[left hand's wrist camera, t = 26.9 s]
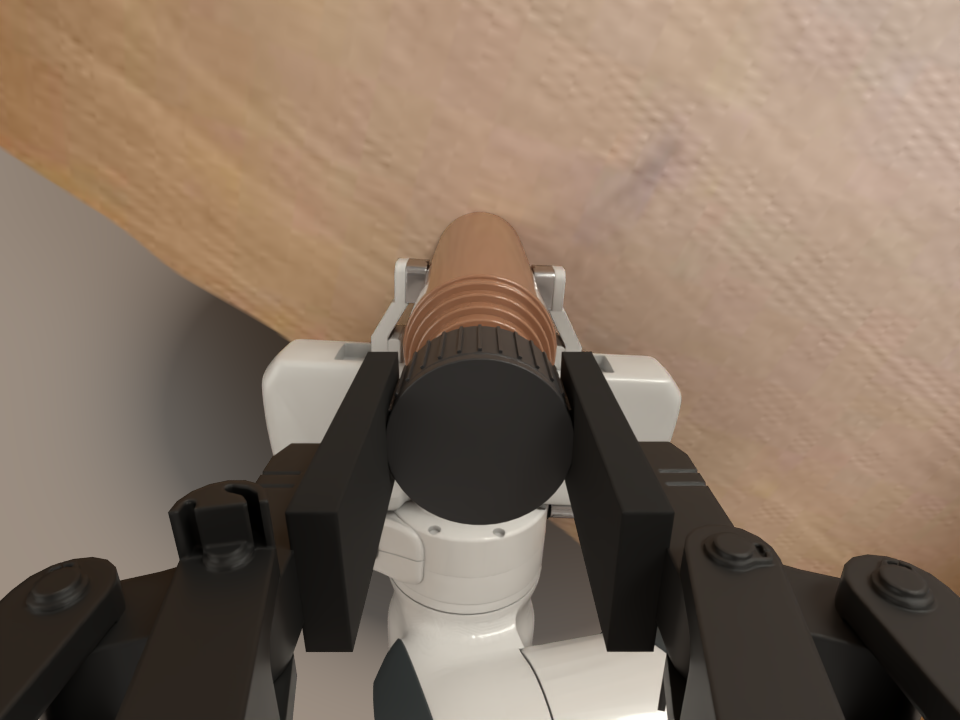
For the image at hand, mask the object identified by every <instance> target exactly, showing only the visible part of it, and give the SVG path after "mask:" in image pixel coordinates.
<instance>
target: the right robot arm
mask: <svg viewBox="0 0 960 720" xmlns="http://www.w3.org/2000/svg"><path fill="white" fill-rule="evenodd" d="M429 266H430V261H429V260H425V259H410V258H398V260H397V261H396V264H395V297H394V299H393V300H392V302H391V304H390V305H389V307H388V309H387V310H386V312H385V314H384V315H383V317H382V319H381V320H380V322H379V324H378V325H377V327H376V329H375V331H374V333H373V334H372V336H371V342H350V341H330V340H310V339H297V340H294V341H292V342H290V343H289V344H288V345H287V346H286V347H285V348H284V349H283V350H282V351H281V352H280V353H279V354H277V356H276V357H275V358H274V359H273V360H272V362H271V363H270V364H269V366H268V367H267V369H266V371H265V373H264V375H263V379H262V394H263V404H264V411H265V418H266V424H267V429H268V434H269V439H270V443H271V448H272V452H273V456H274V455H275V454H277V453H278V452H280V451H281V450H282V449H284V448H285V447H287V446H288V445H289V444H291V443H321V441H322V439H323V438H324V436H325V434H326V432H327V430H328V428H329V426H330V424H331V422H332V420H333V418H334V416H335V414H336V412H337V411H338V409H339V407H340V405H341V403H342V401H343V399H344V397H345V395H346V393H347V391H348V389H349V387H350V386H351V384H352V382H353V380H354V378H355V376H356V374H357V372H358V370H359V368H360V366H361V364H362V362H363V360H364V359H365V357H366V355H367V353H368V352H398V360H399V378H400V377H401V374H402V371H403V368H404V366H405V361H404V355H403V338H404V332H405V328H406V327H405V326H404V325H396V323H397V322H398V320H399V319H400V317H401V315H402V314H403V312H404V310H405V309H406V307H407V305H408V304H409V303H415V301H416V299H417V296H418V294H419V291H420V289H421V286H422V284H423V281H424V278H425V276H426V273H427V271H428V268H429ZM531 269H532V272H533V274H534V277H535V280H536V282H537V285H538V287H539V290H540V292H541V295H542V297H543V300H544V302H545V305H546V308H547V310H548V311H549V313H550V315H551V317H552V319H553V321H554V324H555V326H556V328H557V330H558V332H559V334H558V333H556V341H557V352H556V359H555V366H556V368H557V371H558V374H559V378H560V371H561V354H562V352H582V347H581V344H580V342H579V340H578V338H577V336H576V334H575V331H574V329H573V327H572V325H571V323H570V321H569V319H568V316H567V314H566V312H565V310H564V308H563V301H564V291H565V282H566V274H565V270H564V268H563V267H562V266H547V265H532V266H531ZM395 325H396V326H395ZM593 355H594V357H595V359H596V361H597V363H598V365H599V367H600V369H601V371H602V373H603V375H604V377H605V379H606V380H607V382H608V384H609V386H610V388H611V390H612V392H613V394H614V396H615V398H616V400H617V402H618V404H619V406H620V407H621V409H622V411H623V413H624V415H625V417H626V419H627V421H628V423H629V425H630V427H631V429H632V431H633V433H634V434H635V436H636V438H637V440H638V441H669V442H670V441H671V438H672V435H673V432H674V429H675V426H676V422H677V418H678V415H679V411H680V406H681V393H680V390H679V388H678V386H677V384H676V383H675V381H674V380H673V378H672V376H671V375H670V374H669V373H668V371H667V370H666V369H665V368H664V367H663V366H662V365H661V364H660V363H659V362H658V361H657V360H656V359H655V358H653V357H650V356H639V355H618V354H597V353H593ZM548 517H555V518H574V516H573V512H572V508H571V504H570V500H569V496H568V492H567V488H566V484H565V480H564V481H563V483H562V485H561V486H560V487H559V489H558V490H557V491H556V492H555V493H554V495H553V496H552V497H551V498H550V499H549V500H548V501H546V502H545V503H544V504H542V505H541V506H540V507H539V508H537V509H535V510H534V511H532V512H530V513H529V514H526V515H524V516H522V517H520V518H517V519H514V520H511V521H508V522H504V523H499V524H491V525H468V524H461V523H456V522H452V521H448V520H446V519H443V518H440V517H438V516H436V515H433V514H431V513H429V512H428V511H426V510H425V509H423V508H421V507H420V506H418V505H417V504H416V503H415V502H414V501H412V500H411V499H410V498H409V497H408V496H407V495H406V494H405V493H404V491H403V490H402V489H401V488H400V486H399V485H398V483H397V482H396V480H395V482H394V486H393V490H392V494H391V498H390V502H389V507H388V511H387V515H386V519H385V523H384V527H383V531H382V535H381V539H380V543H379V547H378V551H377V555H376V559H375V563H374V567H373V570H375V571H378V572H380V573H382V574H385V575H387V576H389V578H390V581H391V583H392V586H393V588H394V593H393V596H392V599H391V601H390V605H389V611H388V648H389V651H388V653H387V655H386V657H385V659H384V661H383V663H382V665H381V667H380V669H379V671H378V674H377V676H376V678H375V680H374V685H373V704H374V718H375V720H668V718H667V708H665V712H664V711H659V710H658V703H659V696H660V690H661V684H662V678H663V672H664V666H665V660H666V653H667V650H666V647H665V645H664V642H663V639H662V636H661V634H660V631H659V628H658V626H657V633H656V639H655V646H654V652H607V650H606V646H605V642H604V638H603V634H602V632H601V633H600V634H596V635H590V636H585V637H579V638H574V639H568V640H563V641H557V642H552V643H546V644H541V645H535V646H532V642H533V635H534V619H535V617H534V609H533V604H532V600H531V596H532V594H533V592H534V591H535V589H536V586H537V584H538V581H539V578H540V573H541V566H542V557H543V548H544V540H545V532H546V520H547V519H548Z"/></svg>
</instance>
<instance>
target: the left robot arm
mask: <svg viewBox="0 0 960 720" xmlns="http://www.w3.org/2000/svg"><path fill="white" fill-rule="evenodd" d="M398 380H400V378H399V360H398V352H368V353H367V355H366V357H365V359H364V360H363V362H362V364H361V366H360V368H359V370H358V372H357V374H356V376H355V378H354V380H353V382H352V384H351V386H350V387H349V389H348V391H347V393H346V395H345V397H344V399H343V401H342V403H341V405H340V407H339V409H338V411H337V412H336V414H335V416H334V418H333V420H332V422H331V424H330V426H329V428H328V430H327V432H326V434H325V436H324V438H323V439H322V441H321V443H291V444H289V445H288V446H287V447H285V448H284V449H282V450H281V451H280V452H278V453H277V454H275V455H274V456H273V457H272V458H271V460H270V461H269V463H268V464H267V466H266V467H265V469H264V471H263V475H260V477H259V478H258V480H257V481H256V483H253V482H250V481H246V480H228V481H223V482H218V483H213V484H209V485H206V486H204V487H202V488H199V489H197V490H194V491H192V492H190V493H189V494H187V495H186V496H184V497H183V498H181V499H180V500H178V501H177V502H176V503H175V504H174V506H173V507H172V508H171V509H170V511H169V512H168V514H169V518H170V522H171V526H172V530H173V534H174V538H175V542H176V547H177V551H178V555H179V559H180V561H179V563H178V565H177V567H175V568H172V569H168V570H165V571H161V572H157V573H153V574H148V575H143V576H139V577H135V578H130V579H125V580H121V581H120V580H119V576H118V573H117V569H116V567H115V566H114V565H113V564H112V563H111V562H109V561H108V560H106V559H101V558H95V557H88V558H79V559H72V560H69V561H65V562H62V563H58V564H55V565H52V566H50V567H48V568H46V569H44V570H42V571H40V572H38V573H36V574H34V575H32V576H30V577H29V578H27V579H26V580H25V581H23V582H22V583H21V584H19V585H18V586H17V587H15V588H14V589H13V590H11V591H10V592H9V593H8V594H7V595H6V596H5V597H4V598H3V599H2V600H1V601H0V720H38V719H39V720H292V719H293V710H294V700H295V689H296V680H297V673H296V666H295V660H294V654H293V652H294V649H295V646H296V644H297V641H298V638H299V635H300V633H301V630H302V629H303V635H304V642H305V648H306V652H353V649H354V645H355V640H356V637H357V632H358V628H359V624H360V620H361V616H362V612H363V608H364V604H365V600H366V596H367V592H368V588H369V584H370V580H371V576H372V572H373V567H374V563H375V559H376V555H377V551H378V547H379V543H380V539H381V535H382V531H383V527H384V523H385V519H386V515H387V511H388V507H389V502H390V498H391V494H392V490H393V486H394V482H395V478H394V476H393V474H392V473H391V470H390V467H389V465H388V456H387V441H386V426H387V422H388V418H389V415H390V413H388V409H389V406H390V403H391V400H392V397H393V394H394V391H395V388H396V385H397V382H398ZM560 380H562V383H563V386H564V389H565V392H566V395H567V398H568V401H569V404H570V407H571V413H570V415H571V418H572V422H573V426H574V435H573V450H572V463H571V467H570V470H569V472H568V474H567V476H566V478H565V484H566V488H567V492H568V496H569V500H570V504H571V508H572V512H573V516H574V520H575V524H576V528H577V532H578V536H579V540H580V545H581V549H582V553H583V556H584V561H585V565H586V569H587V573H588V577H589V581H590V585H591V589H592V593H593V597H594V601H595V605H596V609H597V613H598V618H599V622H600V626H601V630H602V634H603V638H604V642H605V646H606V650H607V652H654V646H655V639H656V633H657V626H658V628H659V631H660V634H661V636H662V639H663V642H664V645H665V647H666V650H667V653H666V660H665V666H664V672H663V678H662V684H661V690H660V696H659V703H658V710H659V711H664V712H665V708H667V718H668V720H920V718H921V716H922V717H923V718H924V719H925V720H960V597H958V596H957V595H956V594H955V593H954V592H953V591H952V590H951V589H950V588H949V587H947V586H946V585H945V584H943V583H942V582H941V581H939V580H938V579H937V578H935V577H934V576H933V575H931V574H930V573H928V572H926V571H924V570H922V569H920V568H918V567H916V566H914V565H912V564H910V563H907V562H904V561H901V560H897V559H894V558H890V557H886V556H877V555H862V556H857V557H853V558H851V559H850V560H849V561H848V562H847V563H846V564H845V565H844V568H843V571H842V575H841V578H837V577H832V576H827V575H823V574H818V573H814V572H809V571H804V570H800V569H796V568H793V567H789V566H786V565H783V564H782V562H781V560H780V558H779V557H778V555H777V554H776V552H775V551H774V549H773V548H772V547H771V546H770V545H769V544H767V543H766V542H765V541H763V540H762V539H761V538H759V537H758V536H756V535H754V534H751V533H749V532H747V531H745V530H743V529H740V528H736V527H734V526H733V524H732V523H731V521H730V519H729V518H728V516H727V515H726V513H725V512H724V510H723V509H722V507H721V506H720V504H719V503H718V501H717V500H716V498H715V496H714V495H713V493H712V492H711V490H710V489H709V487H708V486H706V484H705V481H704V480H703V478H702V476H701V475H700V473H697V469H696V467H695V466H694V464H693V463H692V461H691V460H690V458H689V457H688V455H687V454H686V453H684V452H683V451H681V450H680V449H679V448H677V447H676V446H674V445H673V444H672V443H670V442H669V441H638V440H637V438H636V436H635V434H634V433H633V431H632V429H631V427H630V425H629V423H628V421H627V419H626V417H625V415H624V413H623V411H622V409H621V407H620V406H619V404H618V402H617V400H616V398H615V396H614V394H613V392H612V390H611V388H610V386H609V384H608V382H607V380H606V379H605V377H604V375H603V373H602V371H601V369H600V367H599V365H598V363H597V361H596V359H595V357H594V355H593V353H592V352H562V354H561V371H560Z"/></svg>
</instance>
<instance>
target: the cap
mask: <svg viewBox="0 0 960 720" xmlns="http://www.w3.org/2000/svg"><path fill="white" fill-rule="evenodd" d="M388 413H390V415H389V418H388V422H387V426H386V441H387V456H388V465H389V467H390V470H391V473H392V474H393V476H394V478H395V480H396V482H397V483H398V485H399V486H400V488H401V489H402V490H403V491H404V493H405V494H406V495H407V496H408V497H409V498H410V499H411V500H412V501H414V502H415V503H416V504H417V505H418V506H420V507H421V508H423V509H425V510H426V511H428V512H429V513H431V514H433V515H436V516H438V517H440V518H443V519H446V520H448V521H452V522H456V523H461V524H468V525H491V524H499V523H504V522H508V521H511V520H514V519H517V518H520V517H522V516H524V515H526V514H529V513H530V512H532V511H534V510H535V509H537V508H539V507H540V506H541V505H542V504H544V503H545V502H546V501H548V500H549V499H550V498H551V497H552V496H553V495H554V493H555V492H556V491H557V490H558V489H559V487H560V486H561V485H562V483H563V481H564V480H565V478H566V476H567V474H568V472H569V470H570V467H571V463H572V450H573V435H574V426H573V422H572V418H571V415H570V413H571V407H570V404H569V401H568V398H567V395H566V392H565V389H564V386H563V383H562V380H560V378H559V374H558V371H557V368H556V366H555V365H553V366H552V364H551V362H550V361H549V360H548V357H547V354H546V352H545V351H543V352H542V351H541V350H540V349H539V348H538V347H537V346H535V345H534V343H533V341H532V340H530V341H529V340H527V339H525V338H524V337H522V336H520V335H518V332H516V331H514V333H513V332H511V331H508V330H505V329H501V328H500V326H497V327H489V326H482V324H478V326H470V327H463V326H460V328H459V329H455V330H452V331H449V332H445V331H444V332H442V335H440V336H438V337H436V338H434V339H433V340H431V341H430V340H428V341H426V345H424V346H423V347H422V348H421V349H420V350H419V351H418V352H416V351H415V352H414V353H413V357H412V359H411V360H410V362H409V364H408V365H405V366H404V368H403V371H402V374H401V377H400V380H398V382H397V385H396V388H395V391H394V394H393V397H392V400H391V403H390V406H389V409H388Z"/></svg>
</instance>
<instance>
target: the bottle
mask: <svg viewBox="0 0 960 720" xmlns="http://www.w3.org/2000/svg"><path fill="white" fill-rule="evenodd" d="M478 324H482V326H489V327H497V326H500V328H501V329H505V330H508V331H511V332H513V333H514V331H516V332H518V335H520V336H522V337H524V338H525V339H527V340H529V341H530V340H532V341H533V343H534V345H535V346H537V347H538V348H539V349H540V350H541V351H542V352H543V351H545V352H546V354H547V357H548V360H549V361H550V362H551V364H552V366H553V365H555V359H556V352H557V341H556V333H555V329H554V325H553V323H552V320H551V318H550V315H549V313H548V310H547V308H546V305H545V302H544V300H543V297H542V295H541V292H540V290H539V287H538V285H537V282H536V280H535V277H534V274H533V272H532V269H531V267H530V264H529V262H528V259H527V257H526V254H525V251H524V249H523V246H522V244H521V241H520V239H519V236H518V235H517V233H516V231H515V230H514V229H513V227H512V226H511V225H510V224H509V223H508V222H506V221H505V220H504V219H502V218H500V217H499V216H496V215H494V214H490V213H485V212H475V213H469V214H466V215H463V216H461V217H459V218H457V219H456V220H454V221H453V222H452V223H451V224H450V225H449V226H448V227H447V228H446V229H445V231H444V232H443V234H442V236H441V238H440V240H439V243H438V245H437V248H436V250H435V253H434V255H433V258H432V261H431V263H430V266H429V268H428V271H427V273H426V276H425V278H424V281H423V284H422V286H421V289H420V291H419V294H418V296H417V299H416V301H415V304H414V307H413V309H412V312H411V314H410V317H409V319H408V322H407V325H406V328H405V332H404V338H403V355H404V361H405V365H408V364H409V362H410V360H411V359H412V357H413V353H414V352H415V351H416V352H418V351H419V350H420V349H421V348H422V347H423V346H424V345H426V341H428V340H430V341H431V340H433V339H434V338H436V337H438V336H440V335H442V332H444V331H445V332H449V331H452V330H455V329H459V328H460V326H463V327H470V326H478Z"/></svg>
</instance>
